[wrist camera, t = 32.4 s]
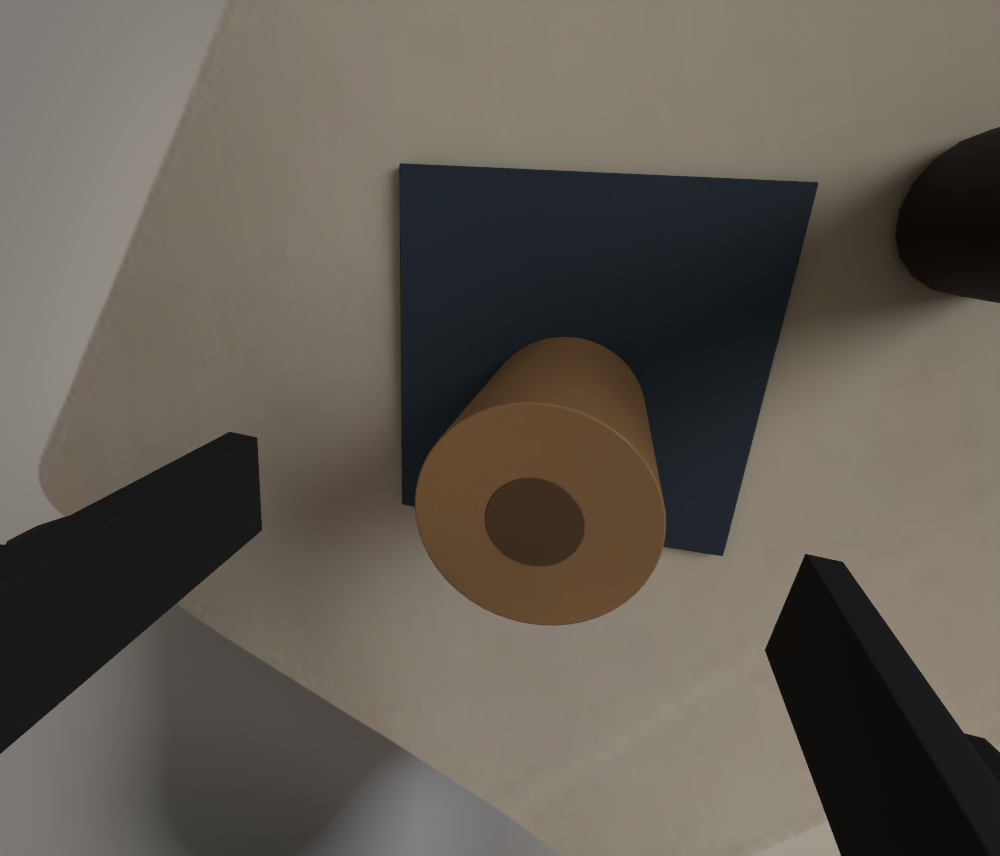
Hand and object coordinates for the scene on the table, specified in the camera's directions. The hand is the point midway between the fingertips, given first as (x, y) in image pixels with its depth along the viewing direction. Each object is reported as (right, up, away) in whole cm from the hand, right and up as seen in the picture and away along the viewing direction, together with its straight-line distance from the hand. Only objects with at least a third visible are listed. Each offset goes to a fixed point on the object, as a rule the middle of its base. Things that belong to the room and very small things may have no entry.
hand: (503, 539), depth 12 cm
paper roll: (+2, +1, +11) cm, 12 cm away
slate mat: (+4, +6, +17) cm, 18 cm away
